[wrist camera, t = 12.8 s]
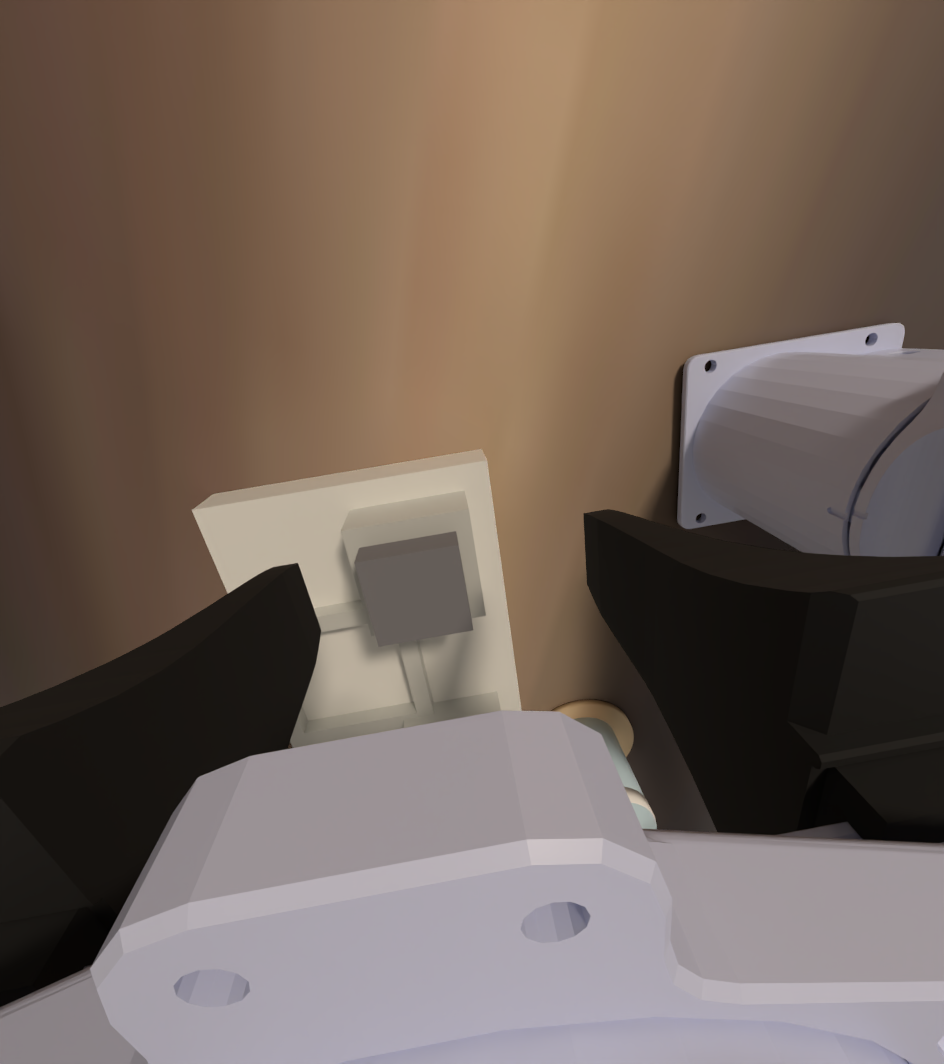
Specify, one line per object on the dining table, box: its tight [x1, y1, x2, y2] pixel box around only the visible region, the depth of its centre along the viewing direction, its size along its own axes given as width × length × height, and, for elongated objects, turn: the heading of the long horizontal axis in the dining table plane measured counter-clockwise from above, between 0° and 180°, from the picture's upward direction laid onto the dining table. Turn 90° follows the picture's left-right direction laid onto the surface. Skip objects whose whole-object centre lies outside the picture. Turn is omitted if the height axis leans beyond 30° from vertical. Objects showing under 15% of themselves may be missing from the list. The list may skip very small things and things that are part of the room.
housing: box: [192, 449, 521, 748], centre depth 22 cm, size 12×19×4 cm, turn 8°
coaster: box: [552, 700, 634, 757], centre depth 28 cm, size 6×6×1 cm
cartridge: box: [574, 717, 657, 829], centre depth 25 cm, size 4×4×6 cm
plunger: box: [354, 531, 473, 647], centre depth 18 cm, size 4×4×3 cm
